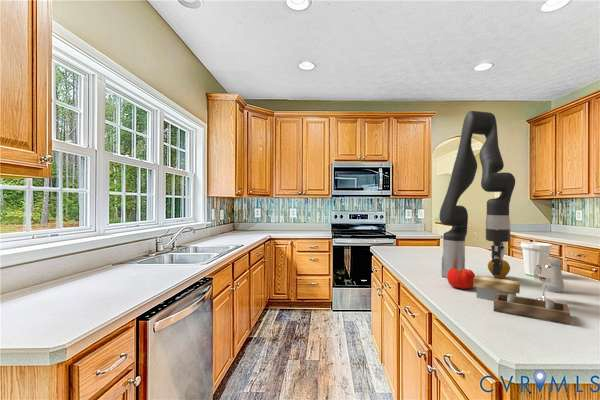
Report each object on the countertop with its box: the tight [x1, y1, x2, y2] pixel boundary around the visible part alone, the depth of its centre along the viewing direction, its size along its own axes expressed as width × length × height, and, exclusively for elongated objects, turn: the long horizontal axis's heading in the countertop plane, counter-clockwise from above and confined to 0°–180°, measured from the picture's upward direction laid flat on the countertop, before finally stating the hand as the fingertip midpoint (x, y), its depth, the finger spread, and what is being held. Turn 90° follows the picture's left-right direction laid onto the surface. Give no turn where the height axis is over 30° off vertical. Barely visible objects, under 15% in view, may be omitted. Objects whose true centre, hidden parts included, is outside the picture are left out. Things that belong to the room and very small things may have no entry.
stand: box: [476, 287, 517, 301], centre depth 117 cm, size 12×4×4 cm, turn 54°
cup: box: [520, 241, 553, 278], centre depth 155 cm, size 12×12×15 cm
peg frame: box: [493, 293, 571, 326], centre depth 103 cm, size 19×10×4 cm, turn 54°
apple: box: [487, 259, 511, 279], centre depth 150 cm, size 9×9×9 cm
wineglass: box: [533, 265, 554, 301], centre depth 118 cm, size 6×6×12 cm
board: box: [472, 275, 521, 294], centre depth 117 cm, size 14×5×3 cm, turn 54°
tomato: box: [446, 268, 476, 290], centre depth 133 cm, size 11×11×8 cm
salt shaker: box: [545, 257, 565, 294], centre depth 128 cm, size 6×6×13 cm
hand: (497, 272), depth 117 cm, fingers open, 8 cm apart
